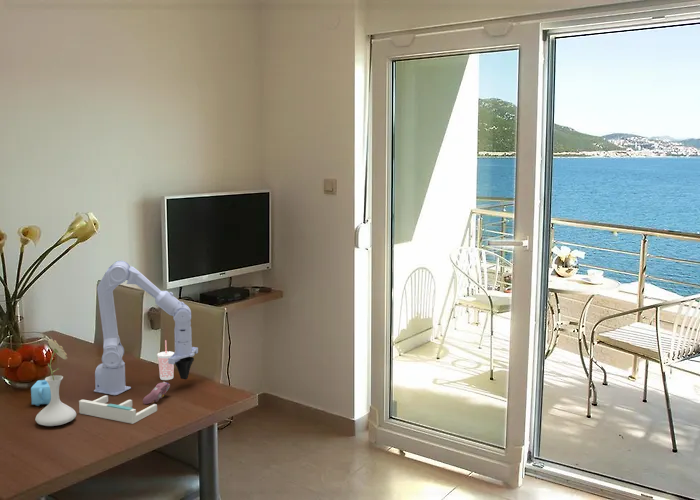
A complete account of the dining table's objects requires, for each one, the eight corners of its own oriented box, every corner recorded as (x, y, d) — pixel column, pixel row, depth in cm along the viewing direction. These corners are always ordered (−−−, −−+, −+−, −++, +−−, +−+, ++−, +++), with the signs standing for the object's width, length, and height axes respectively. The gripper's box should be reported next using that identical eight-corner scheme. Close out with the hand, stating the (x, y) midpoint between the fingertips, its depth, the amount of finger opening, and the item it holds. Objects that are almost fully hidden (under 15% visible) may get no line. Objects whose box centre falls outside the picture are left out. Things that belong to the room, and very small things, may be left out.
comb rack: (79, 413, 215) (78, 400, 214) (105, 401, 225) (104, 388, 225) (132, 423, 207) (132, 410, 207) (157, 410, 218) (156, 397, 217)
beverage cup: (154, 380, 246) (153, 341, 244) (162, 374, 252) (161, 337, 250) (171, 381, 245) (170, 343, 243) (178, 375, 251) (177, 338, 249)
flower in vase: (78, 425, 205) (74, 344, 202) (36, 432, 200) (31, 348, 197) (74, 410, 217) (70, 333, 213) (34, 416, 212) (30, 337, 208)
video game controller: (152, 410, 223) (161, 392, 221) (140, 403, 223) (149, 385, 222) (166, 399, 232) (174, 382, 231) (155, 392, 233) (163, 375, 231)
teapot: (42, 395, 230) (40, 373, 229) (61, 395, 231) (60, 373, 230) (30, 409, 218) (29, 386, 217) (50, 408, 219) (49, 385, 218)
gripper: (180, 347, 230) (181, 386, 232) (205, 336, 243) (205, 373, 245) (162, 344, 232) (163, 383, 234) (188, 334, 245) (189, 371, 247)
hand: (184, 378), depth 240 cm, fingers closed
